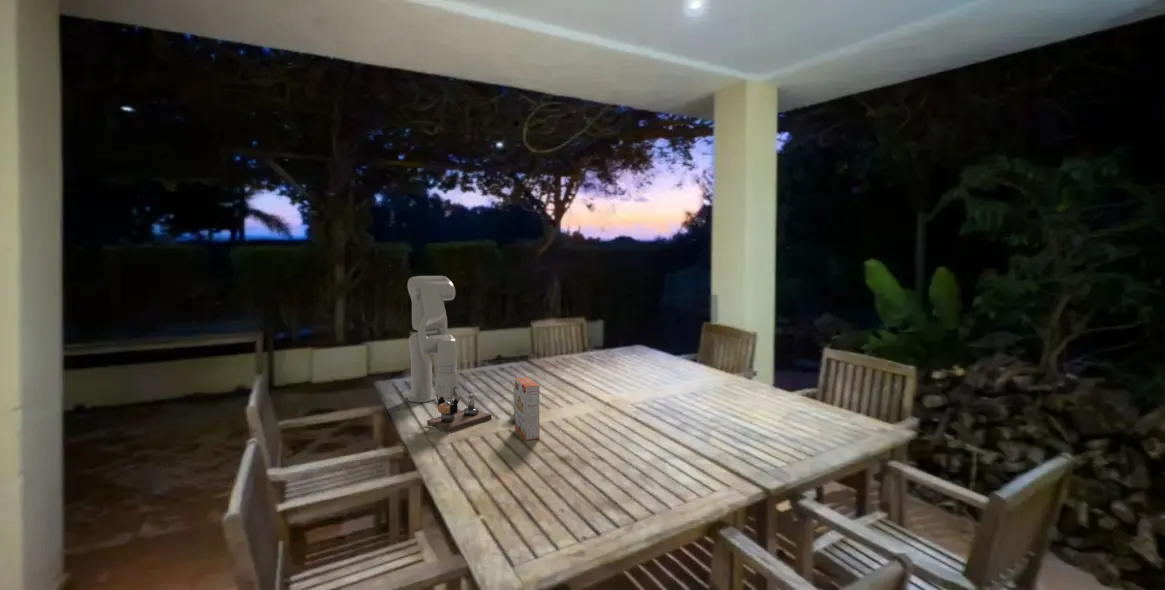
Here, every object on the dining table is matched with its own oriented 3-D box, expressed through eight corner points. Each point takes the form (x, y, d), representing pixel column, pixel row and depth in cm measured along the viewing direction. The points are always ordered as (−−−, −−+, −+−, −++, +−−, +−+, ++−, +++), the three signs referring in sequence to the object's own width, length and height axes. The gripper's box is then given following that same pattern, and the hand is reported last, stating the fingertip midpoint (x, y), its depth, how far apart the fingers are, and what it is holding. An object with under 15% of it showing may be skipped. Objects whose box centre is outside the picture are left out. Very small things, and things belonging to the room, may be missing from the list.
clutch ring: (434, 410, 213) (434, 405, 213) (449, 406, 218) (449, 401, 218) (445, 414, 208) (445, 408, 208) (460, 410, 214) (460, 404, 214)
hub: (461, 414, 222) (460, 394, 222) (472, 410, 227) (472, 391, 226) (470, 417, 219) (470, 397, 218) (481, 413, 223) (481, 394, 223)
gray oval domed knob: (438, 421, 213) (438, 402, 213) (449, 417, 217) (449, 399, 217) (446, 423, 210) (446, 405, 209) (457, 420, 214) (456, 402, 213)
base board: (427, 425, 214) (427, 420, 214) (470, 412, 231) (470, 407, 231) (448, 432, 206) (448, 427, 205) (491, 419, 223) (491, 414, 222)
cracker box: (514, 429, 210) (514, 377, 209) (528, 427, 213) (528, 376, 211) (524, 441, 198) (524, 386, 196) (539, 439, 200) (540, 385, 198)
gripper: (426, 367, 214) (426, 409, 216) (453, 374, 203) (453, 418, 205) (441, 363, 220) (442, 405, 222) (468, 370, 209) (468, 414, 211)
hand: (447, 411), depth 213 cm, fingers closed on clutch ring, 7 cm apart
